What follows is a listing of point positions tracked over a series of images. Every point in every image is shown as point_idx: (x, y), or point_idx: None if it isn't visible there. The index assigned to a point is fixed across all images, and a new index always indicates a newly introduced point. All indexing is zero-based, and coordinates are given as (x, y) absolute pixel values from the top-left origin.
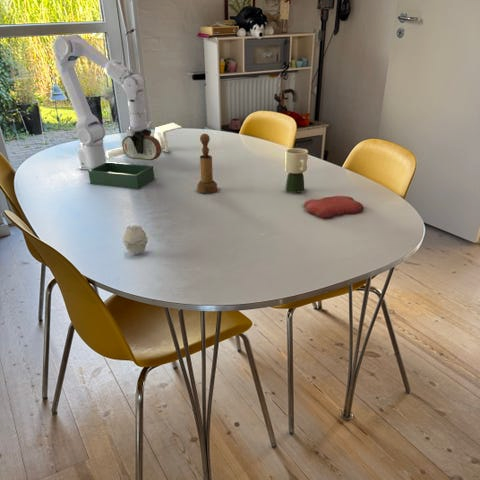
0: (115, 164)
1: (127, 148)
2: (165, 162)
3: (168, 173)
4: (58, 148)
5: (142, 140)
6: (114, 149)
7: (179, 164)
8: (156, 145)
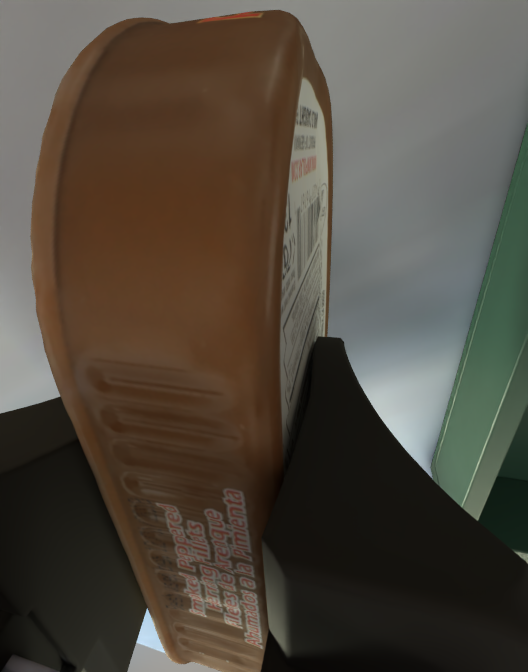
0: (487, 483)
1: None
2: None
3: (297, 2)
4: (159, 645)
5: (354, 450)
6: None
7: (24, 83)
8: (290, 21)
